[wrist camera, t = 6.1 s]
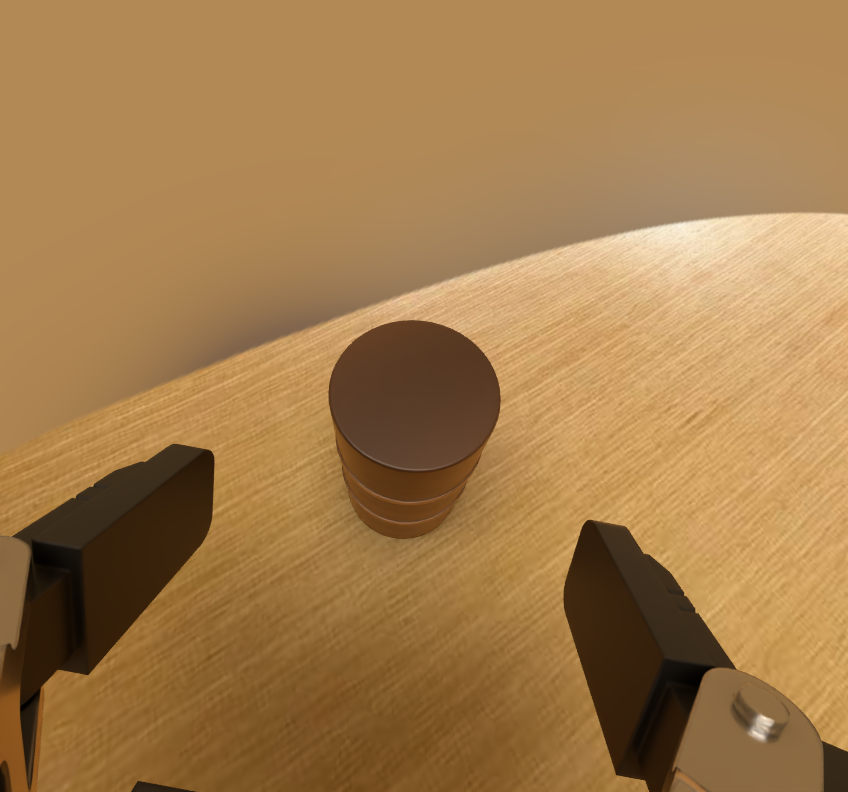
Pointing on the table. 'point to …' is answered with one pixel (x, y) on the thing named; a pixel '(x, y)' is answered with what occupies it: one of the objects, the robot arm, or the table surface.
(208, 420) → the table surface
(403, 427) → the brown ridged cylinder
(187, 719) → the table surface
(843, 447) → the table surface
